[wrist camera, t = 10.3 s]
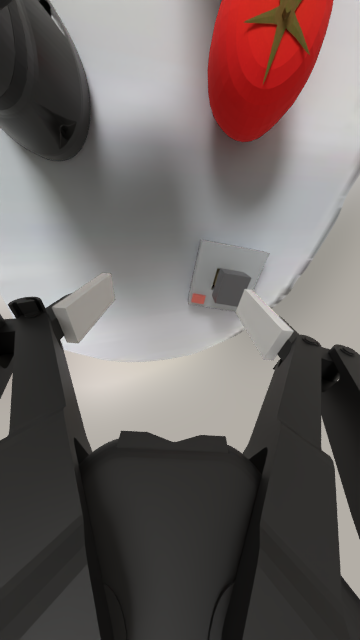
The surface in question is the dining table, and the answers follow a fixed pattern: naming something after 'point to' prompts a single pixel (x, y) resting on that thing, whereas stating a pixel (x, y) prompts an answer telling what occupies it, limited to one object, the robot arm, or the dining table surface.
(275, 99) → the tomato
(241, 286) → the plug
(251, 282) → the socket plate
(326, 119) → the dining table surface
